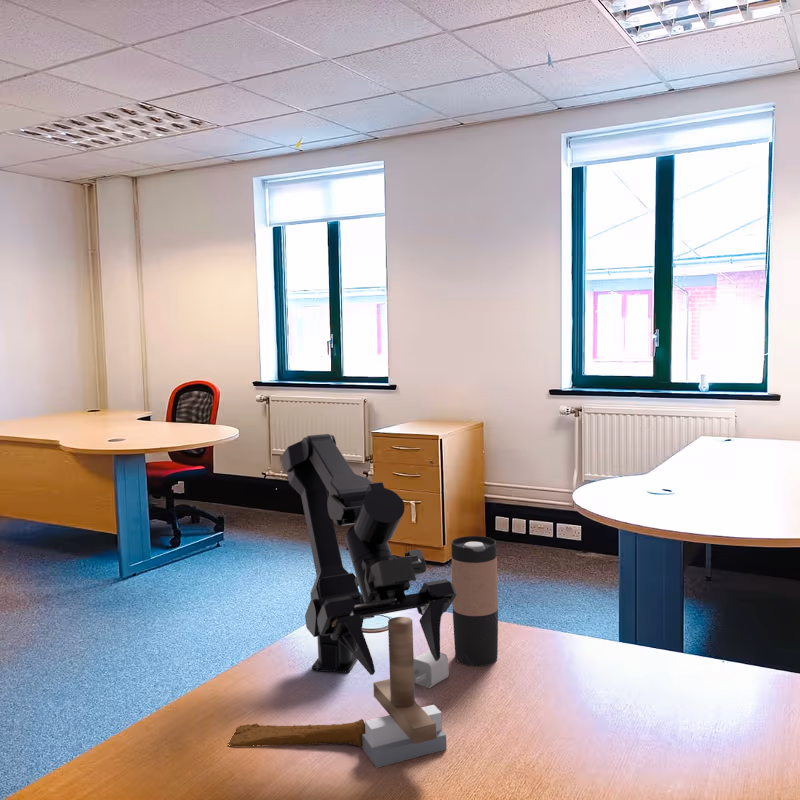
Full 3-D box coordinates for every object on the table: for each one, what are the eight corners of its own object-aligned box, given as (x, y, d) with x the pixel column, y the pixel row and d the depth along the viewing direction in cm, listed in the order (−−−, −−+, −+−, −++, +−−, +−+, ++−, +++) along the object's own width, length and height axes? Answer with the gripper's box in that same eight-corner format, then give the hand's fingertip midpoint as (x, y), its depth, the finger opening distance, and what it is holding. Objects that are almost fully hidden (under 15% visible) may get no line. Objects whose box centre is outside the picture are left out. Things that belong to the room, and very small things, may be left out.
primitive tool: (225, 749, 105) (224, 725, 105) (237, 729, 111) (236, 705, 110) (365, 753, 103) (365, 728, 103) (371, 732, 109) (370, 708, 108)
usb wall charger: (448, 678, 123) (447, 654, 123) (421, 695, 118) (420, 670, 118) (428, 672, 126) (428, 648, 126) (401, 688, 121) (400, 663, 120)
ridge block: (376, 767, 99) (375, 734, 98) (362, 748, 103) (361, 716, 103) (446, 749, 103) (445, 716, 102) (430, 731, 107) (429, 700, 107)
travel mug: (468, 644, 136) (465, 533, 134) (507, 654, 132) (504, 539, 130) (445, 660, 130) (441, 544, 128) (484, 671, 126) (482, 550, 124)
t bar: (373, 696, 109) (370, 606, 107) (394, 691, 110) (391, 602, 109) (413, 744, 96) (410, 642, 95) (436, 738, 97) (434, 637, 96)
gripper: (319, 540, 100) (351, 654, 91) (448, 522, 108) (489, 626, 99) (305, 581, 108) (333, 690, 99) (426, 562, 116) (462, 662, 106)
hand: (406, 666), depth 101 cm, fingers open, 9 cm apart
